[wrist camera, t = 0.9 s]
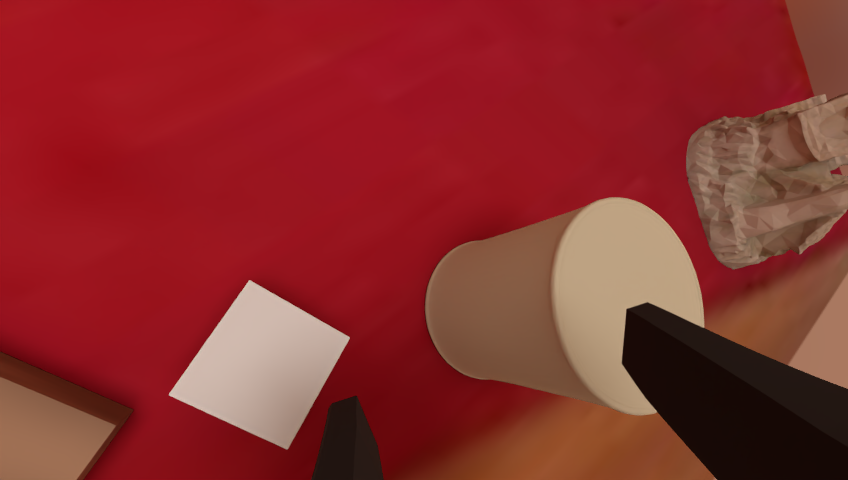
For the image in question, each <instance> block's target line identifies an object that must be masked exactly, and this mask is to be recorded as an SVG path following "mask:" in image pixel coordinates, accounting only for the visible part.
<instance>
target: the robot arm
mask: <svg viewBox="0 0 848 480" xmlns="http://www.w3.org/2000/svg"><path fill="white" fill-rule="evenodd" d="M622 365H623V366H624V368H625V369H626V371H627V372H628V374H629V375H630V377H631V378H632V380H633V381H634V383H635V384H636V385H637V387H638V388H639V390H640V391H641V392H642V394H643V395H644V397H645V398H646V399H647V400H648V402H649V403H650V404H651V405H652V406H653V407H654V409H655V410H656V411H657V412H658V413H659V414H660V416H661V417H662V418H663V419H664V420H665V421H666V422H667V424H668V425H669V426H670V427H671V428H672V429H673V430H674V431H675V433H676V434H677V435H678V436H679V437H680V438H681V439H682V440H683V442H684V443H685V444H686V445H687V446H688V447H689V448H690V450H691V451H692V452H693V453H694V454H695V455H696V456H697V457H698V459H699V460H700V461H701V462H702V463H703V464H704V465H705V466H706V468H707V469H708V470H709V471H710V472H711V473H712V474H713V475H714V477H715V478H716V479H717V480H848V389H846V388H844V387H841V386H838V385H836V384H833V383H830V382H828V381H825V380H822V379H820V378H817V377H815V376H812V375H810V374H807V373H805V372H803V371H800V370H798V369H795V368H793V367H790V366H788V365H785V364H783V363H781V362H778V361H776V360H774V359H771V358H769V357H767V356H764V355H762V354H760V353H757V352H755V351H753V350H751V349H748V348H746V347H744V346H742V345H739V344H737V343H735V342H733V341H731V340H728V339H726V338H724V337H722V336H720V335H718V334H715V333H713V332H711V331H709V330H707V329H705V328H703V327H701V326H698V325H696V324H694V323H692V322H690V321H688V320H686V319H684V318H681V317H679V316H677V315H675V314H673V313H671V312H669V311H666V310H664V309H662V308H660V307H658V306H655V305H653V304H651V303H649V302H646V303H643V304H640V305H637V306H634V307H631V308H628V309H626V320H625V331H624V342H623V353H622ZM311 480H384V479H383V473H382V467H381V462H380V456H379V451H378V445H377V443H376V441H375V438H374V436H373V434H372V431H371V429H370V426H369V424H368V422H367V419H366V417H365V415H364V412H363V410H362V407H361V405H360V403H359V400H358V398H357V396H354V397H351V398H348V399H344V400H341V401H338V402H335V403H332V404H331V406H330V407H329V409H328V415H327V420H326V425H325V429H324V434H323V438H322V442H321V446H320V450H319V454H318V458H317V461H316V465H315V469H314V472H313V476H312V479H311Z"/></svg>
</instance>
